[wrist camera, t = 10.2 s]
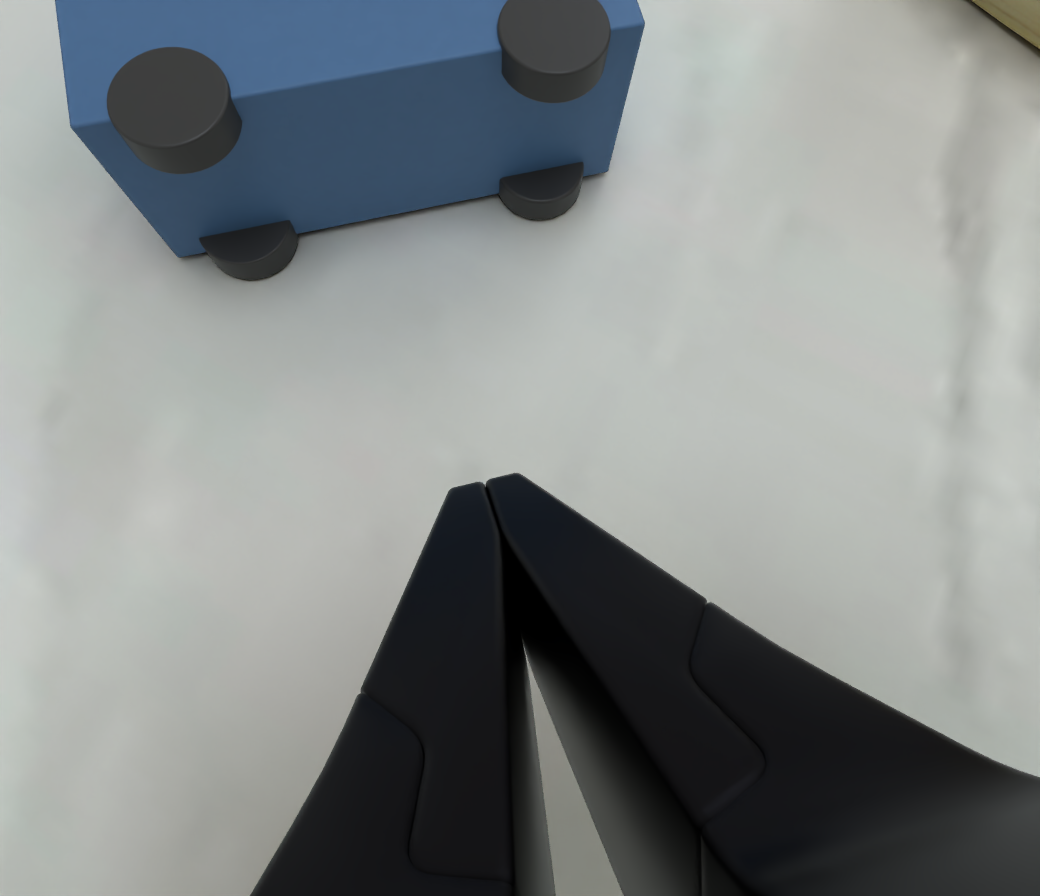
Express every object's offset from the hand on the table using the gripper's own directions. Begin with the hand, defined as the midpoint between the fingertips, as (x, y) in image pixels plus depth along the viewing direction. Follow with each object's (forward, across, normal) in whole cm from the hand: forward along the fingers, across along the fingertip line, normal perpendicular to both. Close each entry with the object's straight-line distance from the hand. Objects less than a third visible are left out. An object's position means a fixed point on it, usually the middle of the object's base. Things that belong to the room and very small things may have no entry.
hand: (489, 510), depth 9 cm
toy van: (+11, 0, -2) cm, 11 cm away
